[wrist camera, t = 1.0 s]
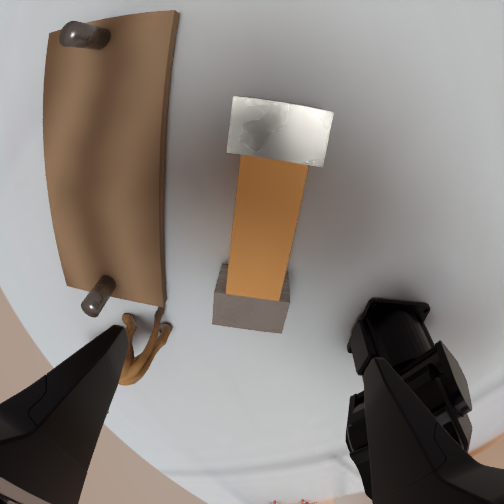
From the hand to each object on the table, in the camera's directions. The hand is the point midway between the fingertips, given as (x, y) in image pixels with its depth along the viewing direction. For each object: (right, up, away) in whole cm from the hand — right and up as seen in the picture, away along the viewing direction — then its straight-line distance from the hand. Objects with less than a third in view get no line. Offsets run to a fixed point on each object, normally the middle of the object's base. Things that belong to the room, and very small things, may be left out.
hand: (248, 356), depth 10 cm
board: (-11, +9, +9) cm, 17 cm away
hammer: (+1, +6, +10) cm, 12 cm away
